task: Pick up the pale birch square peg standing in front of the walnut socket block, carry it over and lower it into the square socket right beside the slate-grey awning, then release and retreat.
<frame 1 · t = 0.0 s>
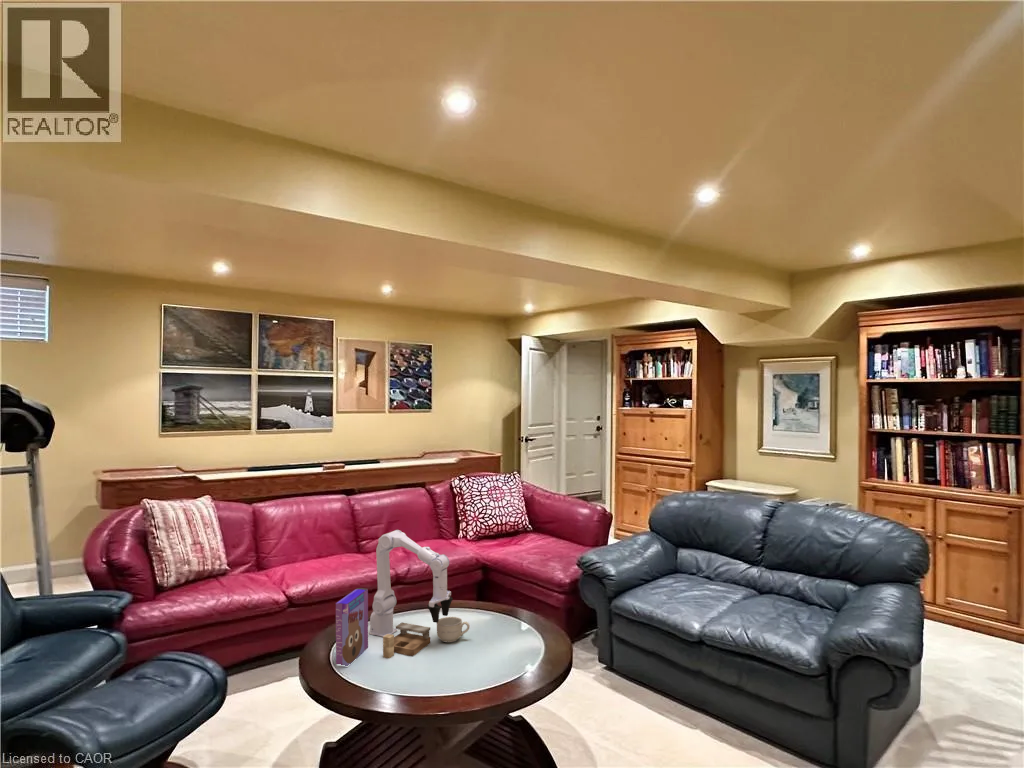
hand: (440, 618, 238), 10 cm above the table, fingers open, 7 cm apart
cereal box: (352, 657, 226), on the table
teacup: (452, 640, 241), on the table
peg: (388, 656, 226), on the table
socket block: (407, 646, 235), on the table
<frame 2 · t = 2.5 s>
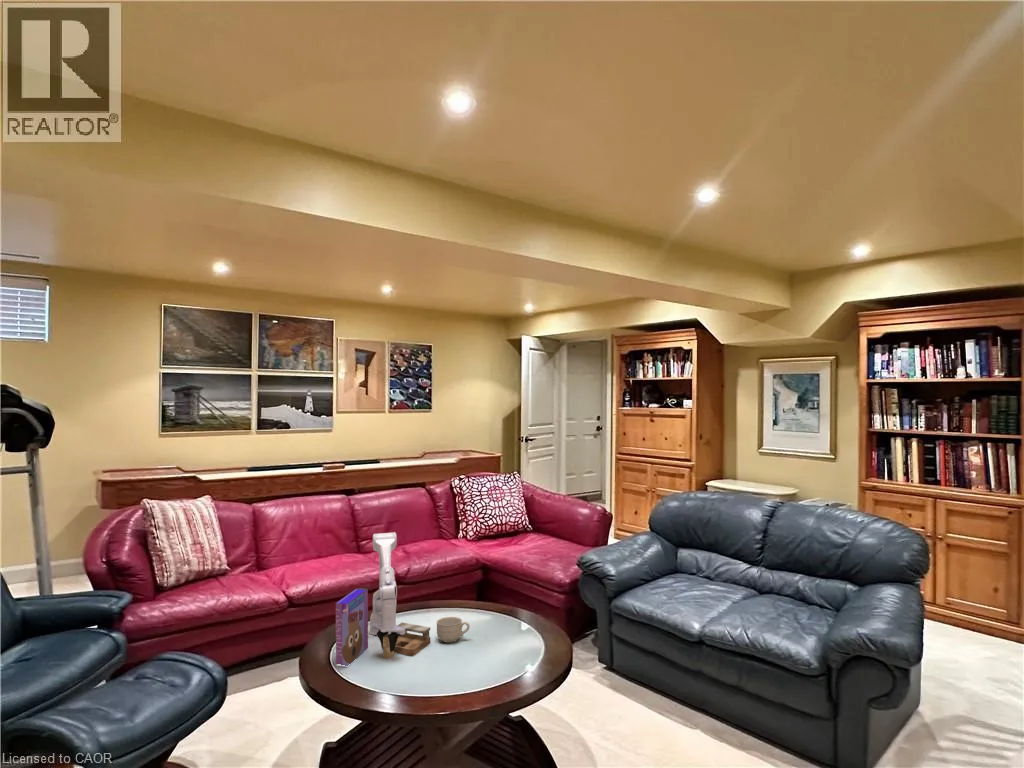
hand: (388, 650, 226), 2 cm above the table, fingers closed on peg, 3 cm apart
peg: (388, 656, 226), on the table, touching gripper
everything else where it was.
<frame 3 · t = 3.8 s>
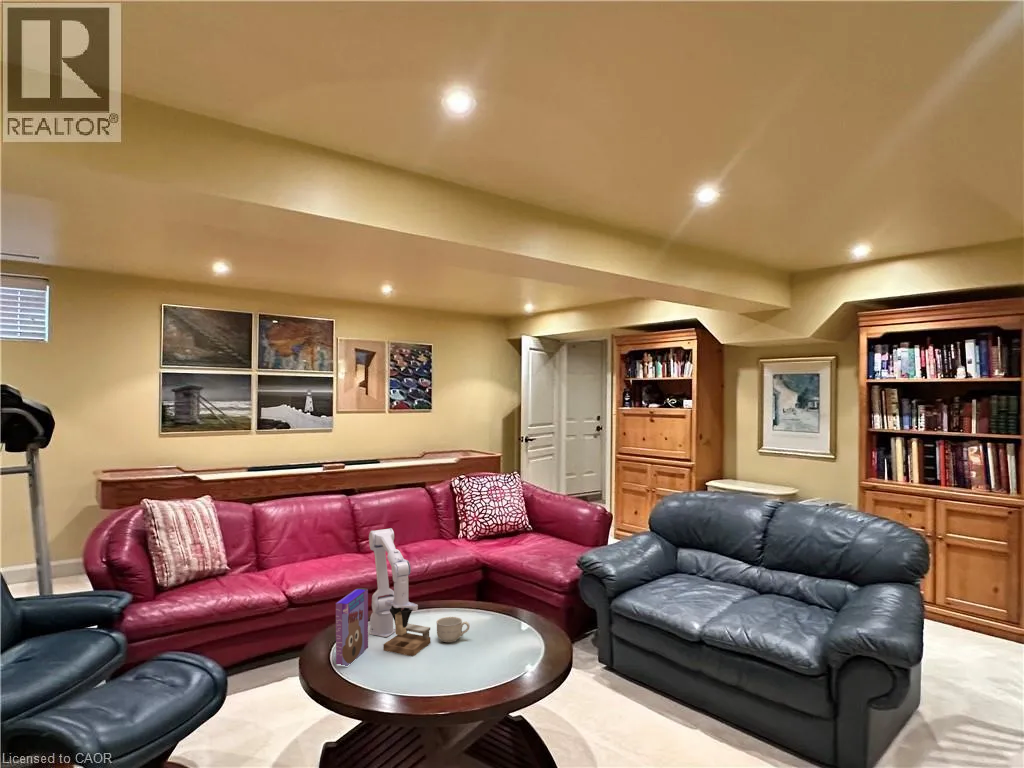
hand: (401, 625, 231), 10 cm above the table, fingers closed on peg, 3 cm apart
peg: (400, 633, 231), point 7 cm above the table, touching gripper
everything else where it was.
when the fingers open (3 cm above the table, at t = 5.2 s): peg stays where it is, resting in socket block.
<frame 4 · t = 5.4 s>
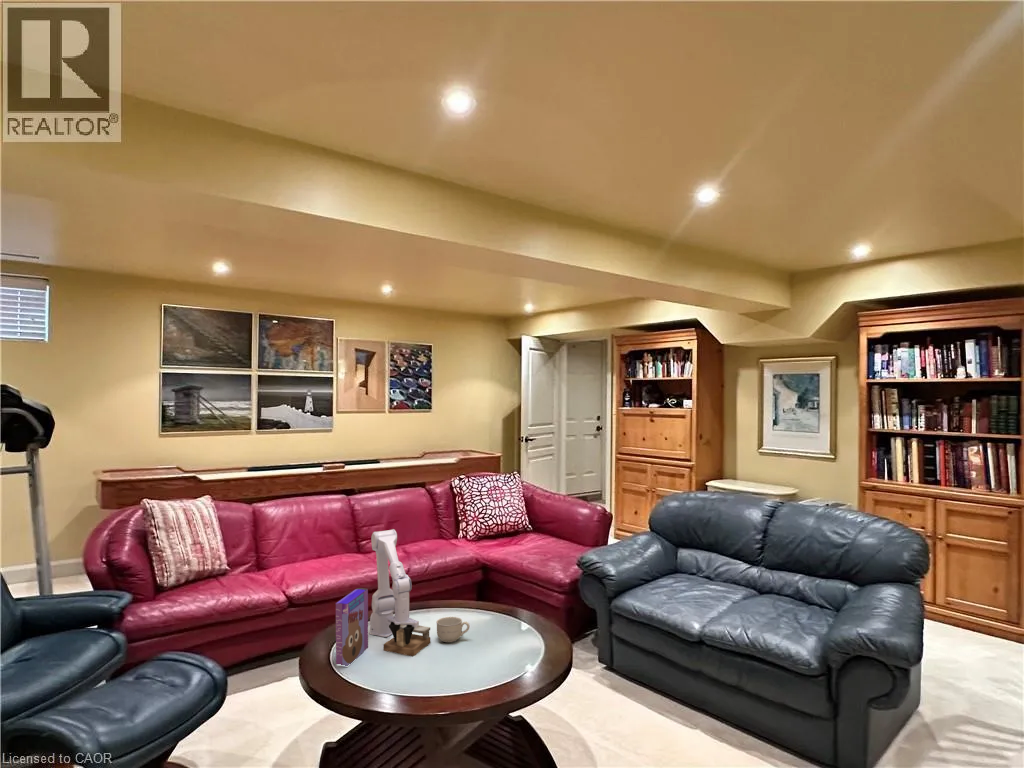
hand: (402, 642, 231), 3 cm above the table, fingers open, 5 cm apart
peg: (401, 650, 231), resting in socket block
everything else where it was.
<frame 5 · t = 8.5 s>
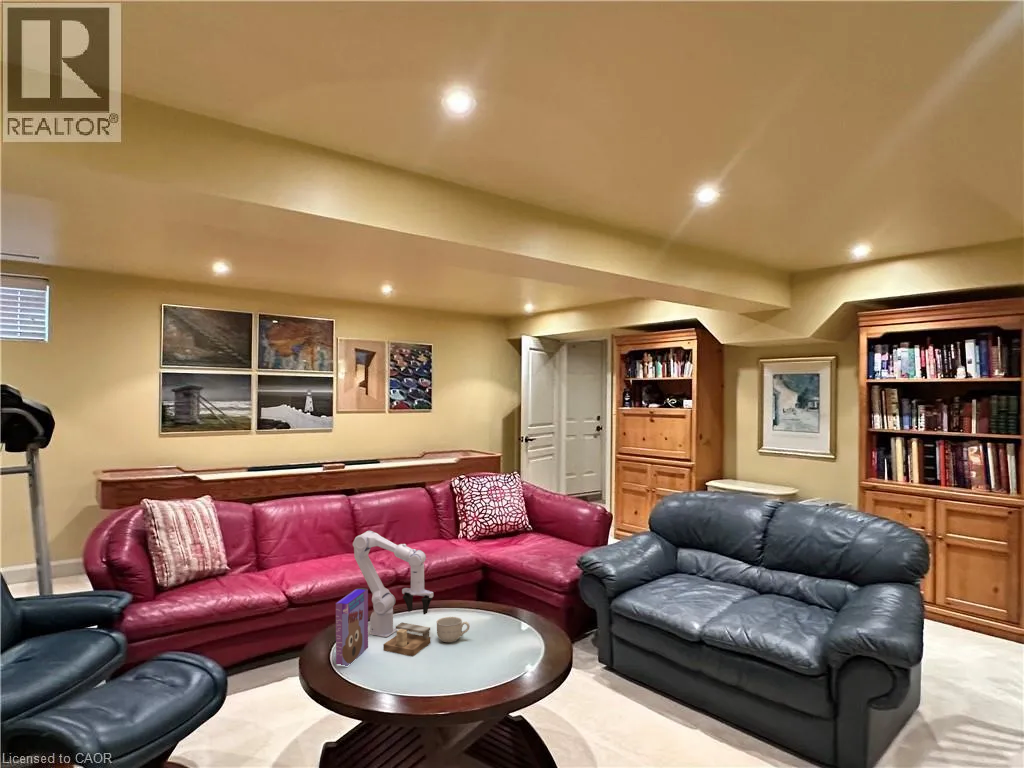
hand: (417, 612, 246), 10 cm above the table, fingers open, 7 cm apart
nothing on the table moved.
at the end: peg 0.3 cm from the target spot on the socket block, point 0.0 cm above the socket block's base; peg tilted 0°; the gripper is holding nothing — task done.
